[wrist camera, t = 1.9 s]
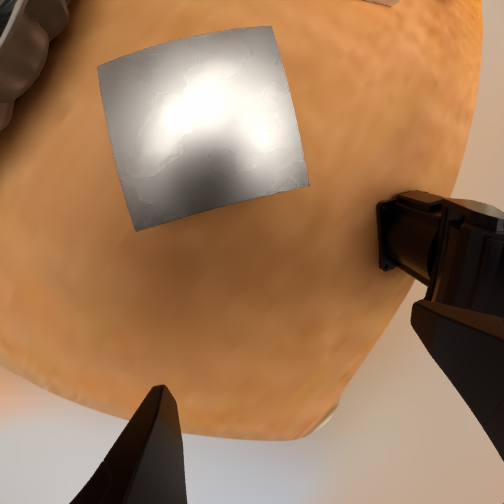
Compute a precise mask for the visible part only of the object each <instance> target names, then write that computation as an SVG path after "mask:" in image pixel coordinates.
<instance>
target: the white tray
mask: <svg viewBox="0 0 504 504" xmlns="http://www.w3.org/2000/svg"><path fill="white" fill-rule="evenodd" d="M365 1H370V2H374V3H379V4H383V5H387V6H393V5H395V4H397V3H399V2H400V1H401V0H365Z"/></svg>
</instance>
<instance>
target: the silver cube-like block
mask: <svg viewBox="0 0 504 504" xmlns="http://www.w3.org/2000/svg"><path fill="white" fill-rule="evenodd" d="M97 69H98V77H99V84H100V90H101V96H102V102H103V108H104V113H105V118H106V123H107V128H108V133H109V138H110V142H111V146H112V151H113V155H114V159H115V163H116V167H117V171H118V174H119V178H120V182H121V185H122V189H123V192H124V196H125V199H126V203H127V206H128V209H129V212H130V216H131V219H132V222H133V225H134V228H135V231H136V232H137V231H140V230H143V229H146V228H150V227H153V226H156V225H159V224H163V223H166V222H169V221H173V220H176V219H180V218H183V217H187V216H190V215H194V214H197V213H201V212H204V211H208V210H212V209H215V208H219V207H223V206H227V205H231V204H234V203H238V202H242V201H246V200H250V199H254V198H258V197H262V196H266V195H271V194H275V193H279V192H283V191H288V190H292V189H296V188H301V187H305V186H309V181H308V175H307V170H306V165H305V159H304V154H303V149H302V144H301V139H300V135H299V130H298V125H297V121H296V116H295V112H294V107H293V103H292V99H291V95H290V91H289V87H288V83H287V79H286V75H285V71H284V67H283V64H282V60H281V56H280V53H279V49H278V46H277V42H276V39H275V36H274V32H273V29H272V26H260V27H249V28H239V29H231V30H224V31H218V32H212V33H206V34H201V35H196V36H191V37H187V38H182V39H178V40H174V41H170V42H166V43H163V44H159V45H156V46H152V47H149V48H146V49H143V50H140V51H137V52H134V53H131V54H128V55H125V56H123V57H120V58H117V59H115V60H112V61H110V62H107V63H105V64H102V65H100V66H98V67H97Z"/></svg>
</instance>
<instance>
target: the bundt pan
mask: <svg viewBox="0 0 504 504" xmlns="http://www.w3.org/2000/svg"><path fill="white" fill-rule="evenodd" d="M70 1H71V0H0V131H1V130H3V129H4V128H5V127H6V126H7V125H8V124H9V122H10V120H11V118H12V113H13V107H14V102H15V99H17V98H18V97H19V96H21V95H22V94H23V93H24V92H25V91H27V90H28V89H29V88H30V86H31V85H32V84H33V83H34V82H35V80H36V79H37V78H38V76H39V74H40V73H41V71H42V69H43V67H44V64H45V62H46V59H47V55H48V49H49V42H50V41H51V40H52V39H53V38H55V37H56V36H57V35H58V34H60V33H61V32H62V31H63V30H64V29H65V28H66V26H67V25H68V23H69V13H68V9H67V5H68V4H69V2H70Z"/></svg>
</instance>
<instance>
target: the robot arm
mask: <svg viewBox="0 0 504 504" xmlns="http://www.w3.org/2000/svg"><path fill="white" fill-rule="evenodd" d="M382 206H384V208H383V210H382ZM377 216H378V233H379V263H380V269H381V270H383V271H388V270H390V269H393V268H395V267H398V268H400V269H402V270H403V271H405V272H406V273H408V274H409V275H411V276H412V277H414V278H415V279H417V280H418V281H420V282H421V283H423V284H424V285H426V286H427V287H428V288H427V292H426V296H425V298H424V299H422V300H419V301H417V302H415V303H414V304H413V306H412V313H411V325H412V327H413V329H414V330H415V332H416V333H417V335H418V336H419V338H420V340H421V341H422V343H423V344H424V346H425V347H426V349H427V350H428V352H429V354H430V355H431V356H432V358H433V359H434V360H435V362H436V363H437V364H438V365H439V367H440V368H441V369H442V371H443V372H444V373H445V375H446V376H447V377H448V379H449V380H450V381H451V383H452V384H453V385H454V387H455V388H456V389H457V391H458V392H459V394H460V395H461V396H462V398H463V399H464V401H465V402H466V404H467V405H468V406H469V408H470V409H471V411H472V412H473V414H474V415H475V417H476V418H477V420H478V421H479V423H480V424H481V425H482V427H483V429H484V430H485V432H486V433H487V435H488V437H489V438H490V440H491V441H492V443H493V445H494V446H495V448H496V450H497V451H498V453H499V455H500V456H501V458H502V460H503V461H504V212H502V211H500V210H499V209H497V208H496V207H494V206H491V205H488V204H484V203H481V202H477V201H473V200H464V199H452V198H444V197H441V196H437V195H433V194H429V193H428V192H422V191H418V190H415V191H411V192H406V193H402V194H398V195H397V197H396V198H394V199H390V200H386V201H382V202H379V203H378V205H377ZM385 264H386V265H385ZM384 265H385V267H384ZM69 504H187V495H186V484H185V471H184V455H183V442H182V435H181V429H180V423H179V416H178V410H177V404H176V401H175V399H174V397H173V396H172V394H171V393H170V391H169V390H168V388H167V387H166V386H165V385H157V386H153V387H152V388H151V390H150V391H149V393H148V394H147V396H146V397H145V399H144V400H143V402H142V403H141V405H140V406H139V408H138V409H137V411H136V412H135V414H134V415H133V417H132V418H131V419H130V421H129V423H128V424H127V426H126V427H125V429H124V430H123V431H122V433H121V435H120V436H119V437H118V439H117V440H116V442H115V443H114V445H113V446H112V448H111V449H110V451H109V452H108V454H107V455H106V457H105V458H104V461H102V463H101V464H100V465H99V467H98V469H97V470H96V471H95V473H94V474H93V476H92V477H91V478H90V480H89V481H88V482H87V483H86V485H85V486H84V487H83V488H82V490H81V491H80V492H79V493H78V494H77V495H76V497H75V498H74V499H73V500H72V501H71V502H70V503H69ZM503 504H504V503H503Z"/></svg>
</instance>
